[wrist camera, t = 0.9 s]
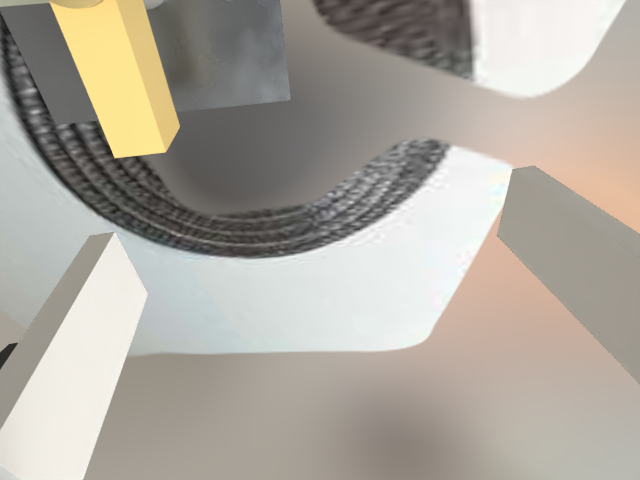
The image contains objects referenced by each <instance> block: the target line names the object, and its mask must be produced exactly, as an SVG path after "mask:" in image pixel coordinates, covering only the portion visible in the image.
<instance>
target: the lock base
mask: <svg viewBox="0 0 640 480" xmlns="http://www.w3.org/2000/svg"><path fill="white" fill-rule="evenodd" d="M143 2H144V6H145V9H146V12H147V16H148V19H149V23H150V26H151V30H152V33H153V36H154V40H155V43H156V47H157V50H158V54H159V57H160V60H161V64H162V67H163V71H164V74H165V77H166V81H167V84H168V88H169V91H170V95H171V98H172V101H173V105H174V108H175V112H183V111H192V110H201V109H210V108H219V107H229V106H239V105H249V104H258V103H268V102H277V101H287V100H291V98H290V89H289V80H288V71H287V61H286V52H285V43H284V34H283V24H282V15H281V6H280V0H143ZM0 12H1V14H2V16H3V18H4V20H5V22H6V24H7V26H8V28H9V30H10V32H11V34H12V36H13V38H14V40H15V43H16V45H17V47H18V49H19V51H20V53H21V55H22V57H23V59H24V61H25V63H26V65H27V67H28V69H29V71H30V73H31V75H32V77H33V79H34V81H35V83H36V85H37V87H38V89H39V91H40V93H41V95H42V97H43V100H44V102H45V104H46V106H47V108H48V110H49V112H50V114H51V116H52V118H53V120H54V122H55V124H56V125H60V124H70V123H79V122H88V121H98V120H99V119H98V116H97V114H96V112H95V109H94V107H93V104H92V102H91V100H90V97H89V95H88V93H87V90H86V88H85V85H84V83H83V81H82V78H81V76H80V73H79V71H78V69H77V66H76V64H75V61H74V59H73V57H72V54H71V52H70V50H69V47H68V45H67V42H66V40H65V38H64V35H63V33H62V30H61V28H60V26H59V23H58V21H57V18H56V16H55V14H54V11H53V9H52V7H51V4H50V2H49V1H48V0H0Z"/></svg>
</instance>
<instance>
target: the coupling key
mask: <svg viewBox="0 0 640 480" xmlns="http://www.w3.org/2000/svg"><path fill="white" fill-rule="evenodd" d="M48 1H49V2H50V4H51V7H52V9H53V11H54V14H55V16H56V18H57V21H58V23H59V26H60V28H61V30H62V33H63V35H64V38H65V40H66V42H67V45H68V47H69V50H70V52H71V54H72V57H73V59H74V61H75V64H76V66H77V69H78V71H79V73H80V76H81V78H82V81H83V83H84V85H85V88H86V90H87V93H88V95H89V97H90V100H91V102H92V104H93V107H94V109H95V112H96V114H97V116H98V119H99V121H100V124H101V126H102V128H103V131H104V133H105V136H106V138H107V140H108V143H109V145H110V147H111V150H112V152H113V155H114V157H115V158H119V157H128V156H137V155H146V154H153V153H162V152H166V151H167V149H168V147H169V146H170V144H171V142H172V140H173V138H174V136H175V135H176V133H177V131H178V129H179V128H180V125H179V123H178V119H177V115H176V112H175V108H174V105H173V101H172V98H171V95H170V91H169V88H168V84H167V81H166V77H165V74H164V71H163V67H162V64H161V60H160V57H159V54H158V50H157V47H156V43H155V40H154V36H153V33H152V30H151V26H150V23H149V19H148V16H147V12H146V9H145V6H144V2H143V0H48Z"/></svg>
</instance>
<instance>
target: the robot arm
mask: <svg viewBox="0 0 640 480" xmlns="http://www.w3.org/2000/svg"><path fill="white" fill-rule="evenodd" d="M497 236H498V237H499V238H500V240H501V241H502V242H503V243H504V244H505V245H506V246H507V247H508V248H509V249H510V250H511V251H512V252H513V253H514V254H515V255H516V256H517V257H518V258H519V259H520V260H521V261H522V262H523V263H524V264H525V265H526V267H527V268H529V270H530V271H531V272H532V273H533V274H534V275H535V276H536V277H537V278H538V279H539V280H540V281H541V282H542V283H543V284H544V285H545V286H546V287H547V288H548V289H549V290H550V291H551V292H552V294H553V295H554V296H555V297H557V299H558V300H559V301H560V302H561V303H562V304H563V305H564V306H565V307H566V308H567V309H568V310H569V311H570V312H571V313H572V314H573V315H574V316H575V317H576V318H577V319H578V320H579V322H580V323H581V324H582V325H583V326H584V327H585V328H586V329H587V330H588V331H589V332H590V333H591V334H592V335H593V336H594V337H595V338H596V339H597V340H598V341H599V342H600V343H601V344H602V345H603V346H604V347H605V349H607V351H608V352H609V353H611V355H612V356H613V357H614V358H615V359H616V360H617V361H618V362H619V363H620V364H621V365H622V366H623V367H624V368H625V369H626V370H627V371H628V372H629V373H630V374H631V376H632V377H633V378H634V379H635V380H636V381H637V382H638V383H639V384H640V234H639V233H637V232H636V231H634V230H633V229H631V228H630V227H628V226H627V225H625V224H623V223H622V222H620V221H619V220H617V219H616V218H614V217H613V216H611V215H610V214H608V213H606V212H605V211H603V210H602V209H600V208H599V207H597V206H596V205H594V204H593V203H591V202H590V201H588V200H586V199H585V198H583V197H582V196H580V195H579V194H577V193H575V192H574V191H573V190H571V189H569V188H568V187H566V186H565V185H563V184H562V183H560V182H558V181H557V180H555V179H554V178H552V177H551V176H549V175H548V174H546V173H545V172H543V171H542V170H540V169H538V168H537V167H535V166H530V167H523V168H517V169H513V170H512V174H511V178H510V182H509V186H508V191H507V195H506V199H505V203H504V207H503V212H502V216H501V220H500V225H499V229H498V233H497ZM147 296H148V294H147V292H146V290H145V288H144V286H143V284H142V283H141V281H140V279H139V277H138V275H137V273H136V271H135V269H134V267H133V266H132V264H131V262H130V260H129V258H128V256H127V254H126V252H125V250H124V249H123V247H122V245H121V243H120V241H119V239H118V237H117V235H116V233H115V232H111V233H104V234H98V235H92V236H89V238H88V239H87V241H86V242H85V244H84V245H83V247H82V248H81V250H80V251H79V253H78V254H77V256H76V257H75V259H74V260H73V262H72V263H71V265H70V266H69V268H68V269H67V271H66V272H65V274H64V275H63V277H62V278H61V280H60V281H59V283H58V284H57V286H56V287H55V289H54V290H53V292H52V293H51V295H50V296H49V298H48V299H47V301H46V302H45V304H44V305H43V307H42V308H41V310H40V311H39V313H38V314H37V316H36V317H35V319H34V320H33V322H32V323H31V325H30V326H29V328H28V329H27V331H26V332H25V334H24V335H23V337H22V338H21V340H20V341H19V343H13V344H9V345H8V346H7V347H6V348H4V350H2V351H1V352H0V480H83V478H84V475H85V472H86V469H87V466H88V463H89V461H90V458H91V455H92V452H93V449H94V446H95V443H96V441H97V438H98V435H99V432H100V429H101V427H102V424H103V420H104V418H105V415H106V412H107V409H108V407H109V404H110V401H111V398H112V395H113V392H114V389H115V386H116V384H117V381H118V378H119V375H120V372H121V370H122V366H123V364H124V361H125V358H126V355H127V353H128V350H129V347H130V344H131V341H132V338H133V335H134V333H135V330H136V327H137V324H138V321H139V318H140V316H141V313H142V310H143V307H144V304H145V301H146V298H147Z"/></svg>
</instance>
